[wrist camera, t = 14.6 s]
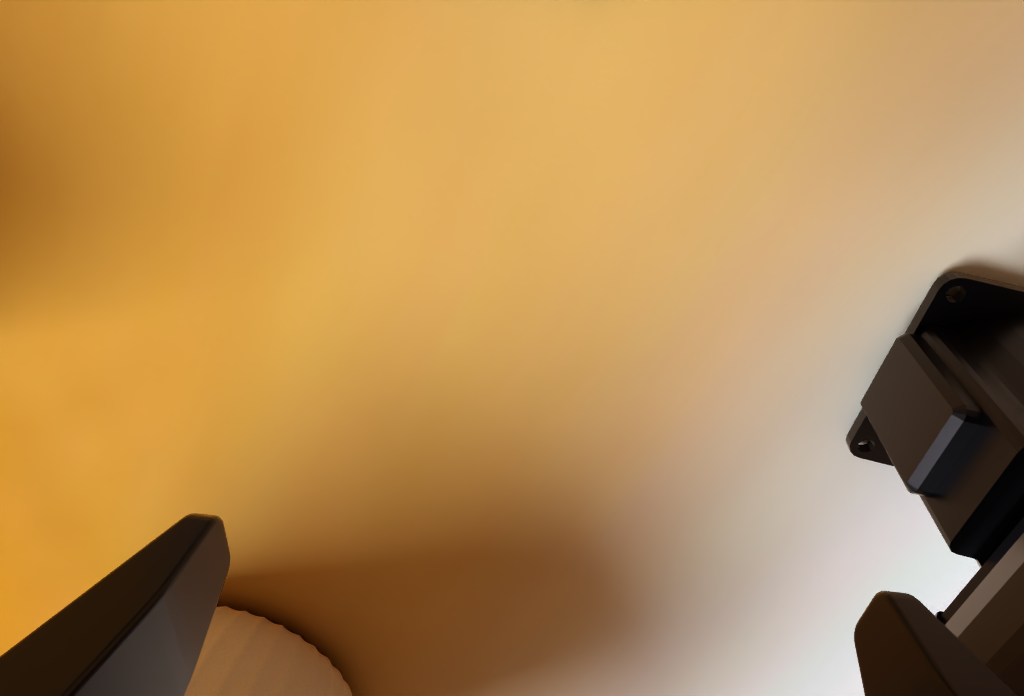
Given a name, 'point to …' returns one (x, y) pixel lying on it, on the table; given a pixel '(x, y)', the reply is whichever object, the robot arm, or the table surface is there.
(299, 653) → the canister
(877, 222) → the table surface
